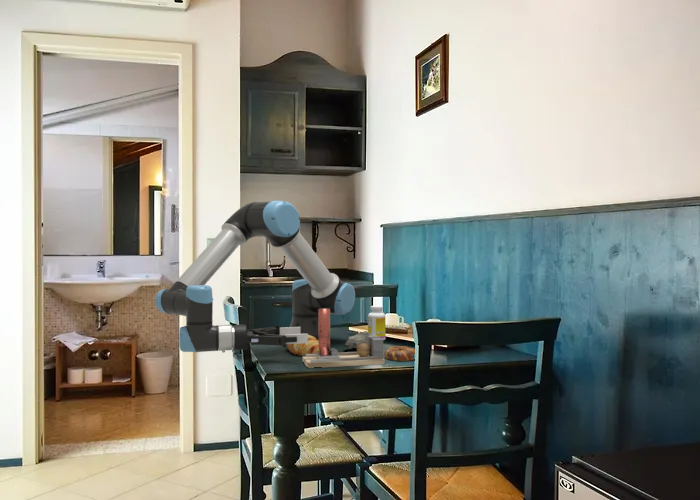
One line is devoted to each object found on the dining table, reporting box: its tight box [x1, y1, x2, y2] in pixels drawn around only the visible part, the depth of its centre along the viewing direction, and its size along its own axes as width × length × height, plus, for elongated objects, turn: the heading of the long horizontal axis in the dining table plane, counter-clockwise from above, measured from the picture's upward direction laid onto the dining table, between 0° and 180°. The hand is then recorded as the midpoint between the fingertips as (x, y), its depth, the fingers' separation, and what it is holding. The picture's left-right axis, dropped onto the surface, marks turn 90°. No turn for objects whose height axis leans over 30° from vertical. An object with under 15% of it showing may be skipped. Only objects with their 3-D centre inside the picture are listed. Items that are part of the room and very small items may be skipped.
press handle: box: [316, 308, 340, 359], centre depth 185 cm, size 7×6×15 cm
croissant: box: [286, 335, 319, 357], centre depth 201 cm, size 21×10×8 cm, turn 42°
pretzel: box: [383, 345, 416, 362], centre depth 194 cm, size 12×11×4 cm
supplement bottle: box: [367, 305, 387, 341], centre depth 228 cm, size 7×7×13 cm
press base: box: [302, 335, 386, 369], centre depth 187 cm, size 10×24×8 cm, turn 104°
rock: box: [342, 330, 372, 350], centre depth 207 cm, size 13×9×6 cm, turn 131°
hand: (304, 334), depth 183 cm, fingers open, 13 cm apart
